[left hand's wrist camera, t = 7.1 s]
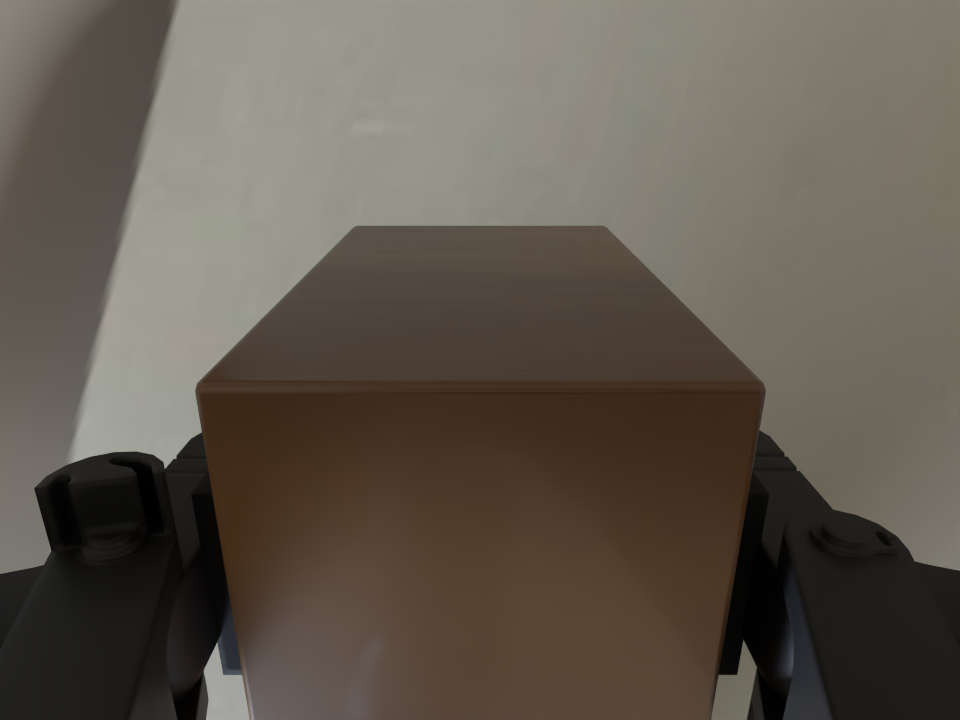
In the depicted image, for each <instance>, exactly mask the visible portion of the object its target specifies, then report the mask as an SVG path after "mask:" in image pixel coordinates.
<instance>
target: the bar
mask: <svg viewBox="0 0 960 720" xmlns="http://www.w3.org/2000/svg"><path fill="white" fill-rule="evenodd" d="M195 391H196V399H197V405H198V411H199V417H200V423H201V429H202V435H203V441H204V447H205V453H206V459H207V465H208V471H209V477H210V483H211V489H212V495H213V501H214V507H215V513H216V519H217V525H218V531H219V537H220V543H221V549H222V555H223V561H224V567H225V573H226V579H227V585H228V591H229V597H230V603H231V609H232V615H233V621H234V627H235V633H236V639H237V645H238V651H239V657H240V663H241V669H242V675H243V681H244V687H245V693H246V699H247V705H248V711H249V717H250V720H711V715H712V710H713V704H714V698H715V692H716V686H717V680H718V674H719V668H720V662H721V656H722V650H723V644H724V638H725V632H726V626H727V620H728V614H729V608H730V602H731V596H732V590H733V584H734V578H735V572H736V566H737V560H738V554H739V548H740V542H741V536H742V530H743V524H744V518H745V512H746V506H747V500H748V494H749V488H750V482H751V476H752V471H753V465H754V459H755V453H756V447H757V441H758V435H759V429H760V423H761V417H762V411H763V405H764V399H765V392H766V390H765V386H764V383H763V382H762V381H761V380H760V379H759V378H758V377H757V376H756V375H755V374H754V373H753V372H752V371H751V370H750V369H749V368H748V367H747V366H746V365H745V364H744V363H743V362H742V361H741V360H740V359H739V358H738V357H737V356H736V355H735V354H734V353H733V352H732V351H731V350H730V349H729V348H728V347H727V346H726V345H725V344H724V343H723V342H722V341H721V340H720V339H719V338H718V337H717V336H716V335H715V334H713V333H712V332H711V331H710V330H709V329H708V328H707V327H706V326H705V325H704V324H703V323H702V322H701V321H700V320H699V319H698V318H697V317H696V316H695V315H694V314H693V313H692V312H691V311H690V310H689V309H688V308H687V307H686V306H685V305H684V304H683V303H682V302H681V301H680V300H679V299H678V298H677V297H676V296H675V295H674V294H673V293H672V292H671V291H670V290H669V289H668V288H667V287H666V286H665V285H664V284H663V283H662V282H661V281H660V280H659V279H658V278H657V277H656V276H655V275H654V274H653V273H652V272H651V271H650V270H649V269H648V268H647V267H646V266H645V265H644V264H643V263H642V262H641V261H640V260H639V259H638V258H637V257H636V256H635V255H634V254H633V253H632V252H631V251H630V250H629V249H628V248H627V247H626V246H625V245H624V244H623V243H622V242H621V241H620V240H619V239H618V238H617V237H616V236H615V235H614V234H613V233H612V232H611V231H610V230H609V229H608V228H607V227H605V226H356V227H354V228H353V229H352V230H351V231H350V232H349V233H348V234H347V235H346V236H345V237H344V238H343V239H342V240H341V241H340V242H339V243H338V244H337V245H336V246H335V247H334V248H333V249H332V250H331V251H330V252H329V253H328V254H327V255H326V256H325V257H324V258H323V259H322V260H321V261H320V262H319V263H318V264H317V265H315V266H314V267H313V268H312V269H311V270H310V271H309V272H308V273H307V274H306V275H305V276H304V277H303V278H302V279H301V280H300V281H299V282H298V283H297V284H296V285H295V286H294V287H293V288H292V289H291V290H290V291H289V292H288V293H287V294H286V295H285V296H284V297H283V298H282V299H281V300H280V301H279V302H278V303H277V304H276V305H275V306H274V307H273V308H272V309H271V310H270V311H269V312H268V313H267V314H266V315H265V316H264V317H263V318H262V319H261V320H260V321H259V322H258V323H257V324H256V325H255V326H254V327H253V328H252V329H251V330H250V331H249V332H248V333H247V334H246V335H245V336H244V337H243V338H242V339H241V340H240V341H239V342H238V343H237V344H236V345H235V346H234V347H233V348H232V349H231V350H230V351H229V352H228V353H227V354H226V355H225V356H224V357H223V358H222V359H221V360H220V361H219V362H218V363H217V364H216V365H215V366H214V367H213V368H212V369H211V370H210V371H209V372H208V373H207V374H206V375H205V376H204V377H203V378H202V379H201V380H200V381H199V382H198V383H197V386H196V390H195Z"/></svg>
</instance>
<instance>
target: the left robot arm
mask: <svg viewBox="0 0 960 720" xmlns="http://www.w3.org/2000/svg"><path fill="white" fill-rule="evenodd" d="M34 489H35V493H36V496H37V500H38V504H39V507H40V511H41V515H42V518H43V522H44V525H45V529H46V533H47V536H48V540H49V544H50V547H51V553H50V555H49V557H48V559H47V561H46V562H45V564H44V565H42V566H38V567H34V568H29V569H24V570H19V571H14V572H9V573H3V574H0V720H206V714H207V707H208V693H207V686H206V681H205V676H204V668H205V666H206V664H207V662H208V660H209V658H210V656H211V654H212V652H213V650H214V648H215V646H216V644H217V641H218V647H219V653H220V658H221V664H222V669H223V675H242V669H241V663H240V657H239V651H238V645H237V639H236V633H235V627H234V621H233V615H232V609H231V603H230V597H229V591H228V585H227V579H226V573H225V567H224V561H223V555H222V549H221V543H220V537H219V531H218V525H217V519H216V513H215V507H214V501H213V495H212V489H211V483H210V477H209V471H208V465H207V459H206V453H205V447H204V441H203V435H202V433H200V434H198V435H197V436H195V437H193V438H192V439H190V441H189V442H188V443H187V444H186V445H185V447H184V448H183V449H182V450H181V451H180V452H179V454H178V455H177V458H176V459H173V461H172V462H171V463H170V464H169V465H168V466H167V468H166V469H164V464H163V462H162V461H161V460H160V459H158V458H157V457H155V456H154V455H151V454H146V453H141V452H113V453H108V454H103V455H98V456H93V457H89V458H86V459H83V460H80V461H77V462H74V463H71V464H69V465H66V466H64V467H62V468H61V469H59V470H57V471H55V472H53V473H52V474H50V475H48V476H46V477H45V478H44V479H43V480H42V481H41V482H40V483H39V484H38V485H37V486H36V487H35V488H34ZM743 639H744V641H745V643H746V645H747V647H748V649H749V651H750V653H751V655H752V658H753V660H754V662H755V664H756V666H757V670H756V676H755V681H754V686H753V691H752V696H751V702H750V707H749V712H748V717H747V720H960V571H958V570H952V569H947V568H942V567H937V566H932V565H927V564H923V563H919V562H915V561H914V559H913V557H912V555H911V554H910V552H909V550H908V549H907V547H906V546H905V545H904V544H903V543H902V542H901V540H900V539H899V538H898V537H897V536H896V535H894V534H893V533H891V532H890V531H888V530H887V529H885V528H884V527H882V526H880V525H879V524H877V523H874V522H872V521H869V520H867V519H865V518H862V517H860V516H857V515H854V514H849V513H845V512H841V511H836V510H833V509H832V508H831V507H830V506H829V504H828V503H827V502H826V501H825V500H824V499H823V498H822V496H821V495H820V494H819V493H818V492H817V491H816V489H815V488H814V487H813V486H812V485H811V484H810V482H809V481H808V480H807V479H806V478H805V477H804V476H803V474H802V473H801V472H800V471H797V470H796V466H795V465H794V464H793V463H792V462H791V460H790V459H789V458H788V457H785V456H784V452H783V451H782V450H781V449H780V448H779V447H778V445H777V444H776V443H775V442H774V441H773V440H772V438H771V437H770V436H768V435H766V434H765V433H763V432H761V431H759V435H758V441H757V447H756V453H755V459H754V465H753V471H752V476H751V482H750V488H749V494H748V500H747V506H746V512H745V518H744V524H743V530H742V536H741V542H740V548H739V554H738V560H737V566H736V572H735V578H734V584H733V590H732V596H731V602H730V608H729V614H728V620H727V626H726V632H725V638H724V644H723V650H722V656H721V662H720V668H719V674H718V675H737V672H738V666H739V661H740V655H741V650H742V644H743Z"/></svg>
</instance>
